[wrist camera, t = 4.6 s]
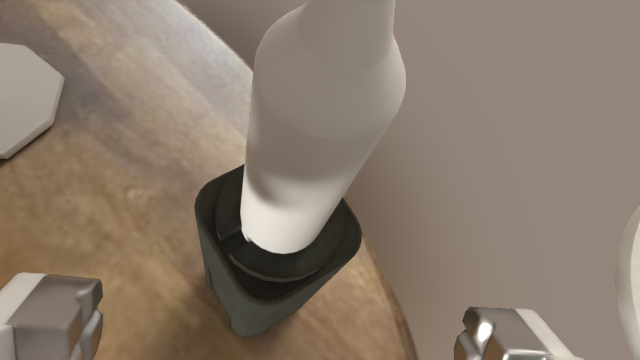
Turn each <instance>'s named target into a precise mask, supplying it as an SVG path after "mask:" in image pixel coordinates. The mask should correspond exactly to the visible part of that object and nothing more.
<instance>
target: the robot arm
mask: <svg viewBox="0 0 640 360" xmlns="http://www.w3.org/2000/svg"><path fill="white" fill-rule="evenodd" d="M102 297H103V293H102V282H101V281H100V279H94V278H84V277H73V276H62V275H51V274H49V275H47V274H40V273H25V272H22V273H19V274H16V275H15V276H14V277H13V278H12V279H11V280H10V281H9V282H8V283H7V285H6V286H5V287H4V288H3V289H2V290H1V291H0V360H93V359H94V356H95V354H96V352H97V350H98V346H99V343H100V339H101V335H102V327H103V314H102V313H101V312H100V311H99V310H98V308H97V306H98V304H99V303H100V301H101V299H102ZM463 323H464V326H465V328H466V330H464V331H463V332H462V333H461V334H460V335H458V336H457V339H456V343H455V346H454V360H584V359H583V358H581V357H574V356H573V355H572V353H571V352H570V351H569V350H568V349H567V348H566V347H565V345H564V344H563V343H562V342H561V341H560V340H559V339H558V337H557V336H556V335H555V334H554V333H553V332H552V331H551V329H550V328H549V327H548V326H547V325H546V324H545V322H544V321H543V320H542V319H541V318H540V317H539V316H538V314H537V313H536V312H534V311H532V310H530V309H512V308H511V309H503V308H485V307H469V308H468V310H467V311H466V312H465V315H464V318H463Z"/></svg>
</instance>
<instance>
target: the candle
mask: <svg viewBox="0 0 640 360" xmlns="http://www.w3.org/2000/svg"><path fill="white" fill-rule="evenodd" d="M394 9H395V0H309V1H308V2H307V3H306V4H304V5H302V6H301V7H298V8H297V9H295V10H293V11H291V12H289V13H288V14H286V15H284V16H283V17H281V18H280V19H279V20H277V21H276V22H275V23H274V24H273V25H272V26H271V27H270V28H269V29H268V30H267V31H266V33H265V35H264V37H263V39H262V41H261V42H260V44H259V46H258V48H257V51H256V57H255V63H254V70H253V81H252V92H251V102H250V113H249V124H248V134H247V145H246V156H245V164H243V165H242V166H240V167H238V168H236V169H234V170H232V171H230V172H228V173H226V174H223V175H221V176H219V177H217V178H215V179H213V180H212V181H210V182H208V183H207V184H206V185H205V186H204V187H203V188H202V189H201V190H200V192H199V194H198V196H197V197H196V201H195V216H196V221H197V227H198V233H199V238H200V244H201V250H202V255H203V261H204V267H205V272H206V278H207V283H208V286H209V288H210V289H214V290H215V292H216V294H217V296H218V298H219V299H220V301H221V303H222V305H223V307H224V308H225V310H226V312H227V314H228V315H229V317H230V319H231V328H232V329H233V330H234V332H236V333H237V334H238V335H240V336H243V337H255V336H257V335H259V334H261V333H262V332H264V331H265V330H267V329H268V328H270V327H271V326H273V325H274V324H276V323H278V322H279V321H281V320H282V319H284V318H285V317H287V316H288V315H290V314H291V313H293V312H295V311H296V310H298V309H299V308H300V307H301V306H302V305H303V304H304V303H305V302H307V301H308V300H309V299H310V298H311V297H312V296H313V295H314V294H315V293H316V292H317V291H318V290H319V289H320V288H321V287H322V286H323V285H324V284H325V283H326V282H327V281H328V280H330V279H331V278H332V277H333V276H334V275H335V274H336V273H337V272H338V271H339V270H340V269H341V268H342V267H343V266H344V265H345V264H346V263H347V262H348V261H349V260H350V259H351V258H353V257H354V256H355V254H356V253H357V251H358V250H359V247H360V244H361V240H362V231H361V227H360V224H359V222H358V220H357V218H356V216H355V215H354V213H353V212H352V210H351V209H350V207H349V206H348V204H347V203H346V201H345V200H344V199H343V196H344V194H345V193H346V191H347V189H348V188H349V186H350V185H351V183H352V182H353V180H354V179H355V177H356V176H357V174H358V172H359V171H360V169H361V168H362V166H363V164H364V163H365V162H366V160H367V158H368V157H369V155H370V154H371V152H372V151H373V149H374V148H375V146H376V144H377V143H378V141H379V140H380V138H381V137H382V135H383V134H384V132H385V131H386V129H387V128H388V126H389V124H390V123H391V121H392V120H393V118H394V117H395V115H396V113H397V112H398V110H399V109H400V106H401V103H402V99H403V96H404V93H405V89H406V71H405V68H404V65H403V61H402V58H401V56H400V52H399V49H398V45H397V43H396V41H395V39H394V36H393V23H394Z"/></svg>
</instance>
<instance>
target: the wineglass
mask: <svg viewBox="0 0 640 360" xmlns="http://www.w3.org/2000/svg"><path fill="white" fill-rule="evenodd" d="M64 81H65V78H64V77H63V76H62V75H61V74H60V73H59V72H57V71H56V70H55V69H54V68H52V67H51V66H50V65H49V64H47V63H46V62H45V61H44V60H42V59H41V58H40V57H39V56H37V55H36V54H35V53H34V52H32V51H31V50H30V49H29V48H27V47H26V46H25V45H17V44H7V43H0V159H8V158H10V157H11V156H12V155H14V154H15V153H16V152H18V151H19V150H20V149H21V148H23V147H24V146H25V145H27V144H28V143H29V142H31V141H32V140H33V139H35V138H36V137H37V136H39V135H40V134H41V133H42V132H44V131H45V130H46V129H48V128H49V127H50V126H52V125H53V124H54V120H55V116H56V112H57V109H58V105H59V101H60V97H61V93H62V89H63V85H64Z"/></svg>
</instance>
